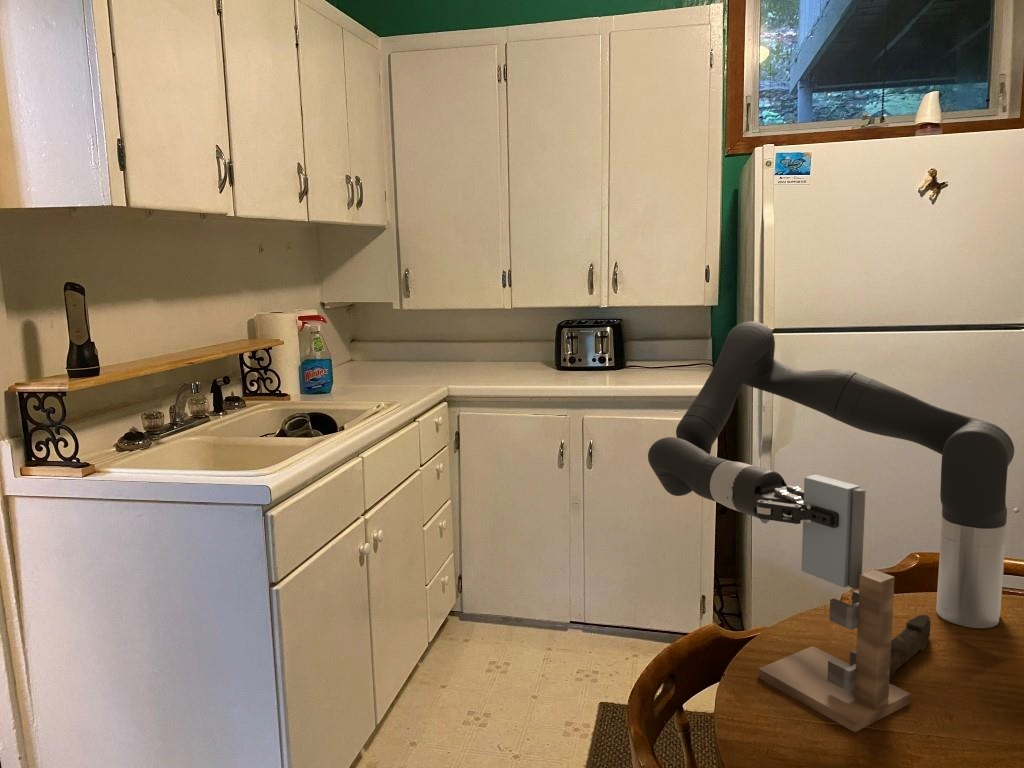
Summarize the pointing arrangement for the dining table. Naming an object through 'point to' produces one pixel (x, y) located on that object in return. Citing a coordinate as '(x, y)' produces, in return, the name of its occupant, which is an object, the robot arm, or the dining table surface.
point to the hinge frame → (839, 685)
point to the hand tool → (909, 641)
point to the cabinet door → (834, 532)
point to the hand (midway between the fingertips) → (843, 518)
